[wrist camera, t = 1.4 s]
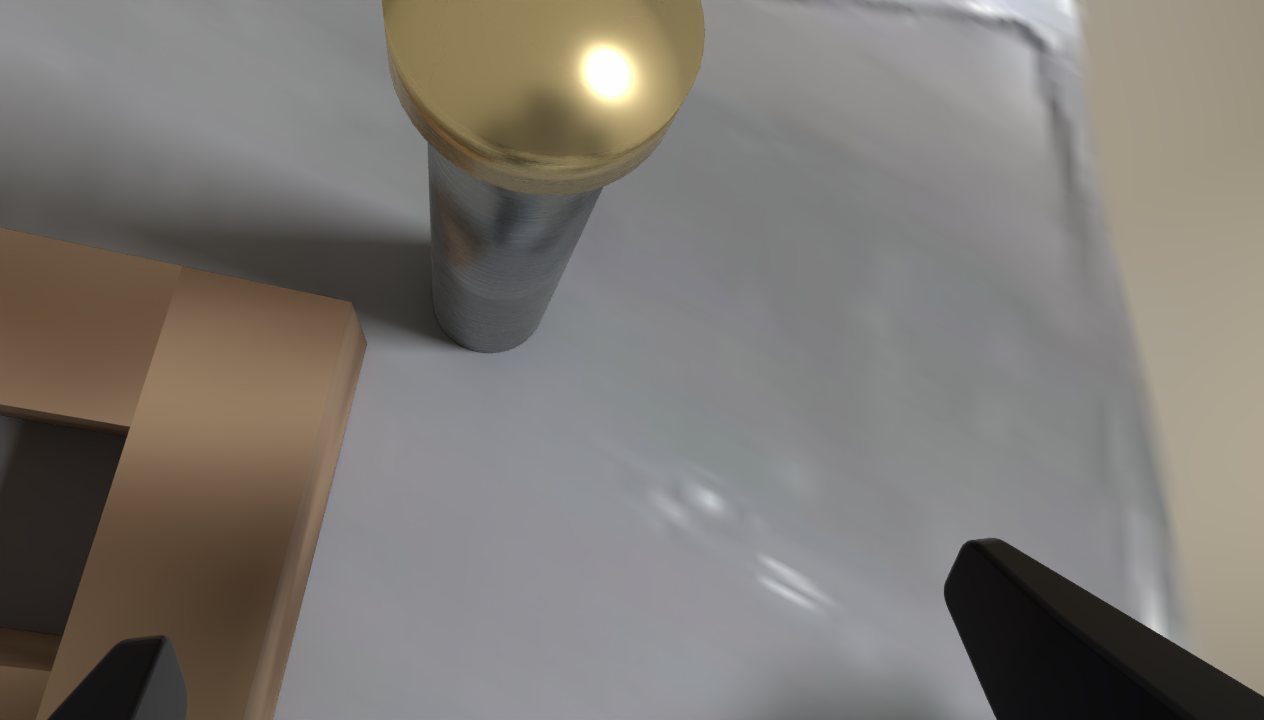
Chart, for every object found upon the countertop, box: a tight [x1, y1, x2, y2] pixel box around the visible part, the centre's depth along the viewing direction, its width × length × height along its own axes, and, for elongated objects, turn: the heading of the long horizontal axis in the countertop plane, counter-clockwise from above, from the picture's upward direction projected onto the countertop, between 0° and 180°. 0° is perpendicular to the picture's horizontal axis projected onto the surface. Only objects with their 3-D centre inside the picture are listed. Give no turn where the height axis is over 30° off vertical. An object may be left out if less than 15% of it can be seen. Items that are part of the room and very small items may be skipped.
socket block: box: [0, 228, 367, 720], centre depth 17 cm, size 12×12×4 cm
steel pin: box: [382, 0, 705, 353], centre depth 16 cm, size 4×4×13 cm
